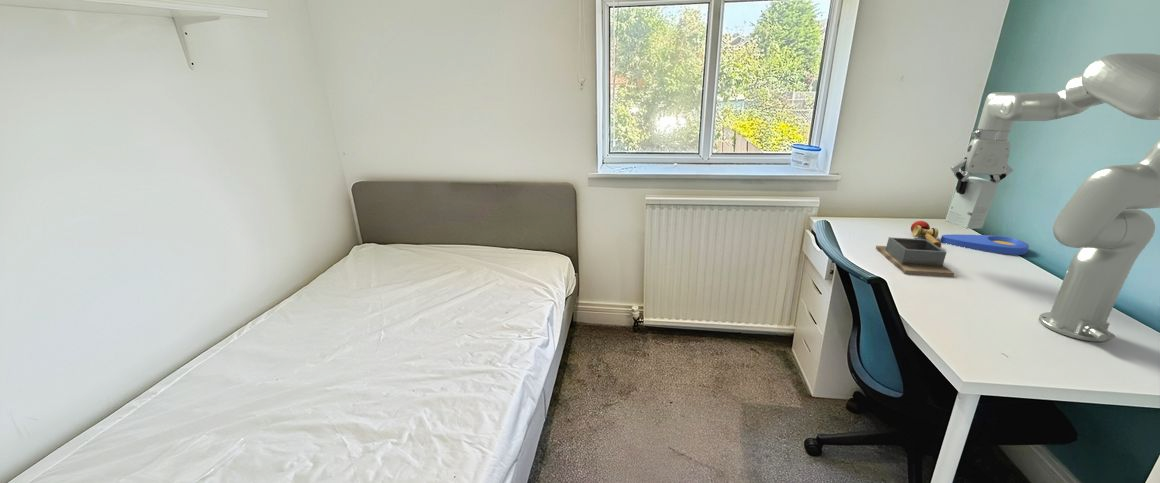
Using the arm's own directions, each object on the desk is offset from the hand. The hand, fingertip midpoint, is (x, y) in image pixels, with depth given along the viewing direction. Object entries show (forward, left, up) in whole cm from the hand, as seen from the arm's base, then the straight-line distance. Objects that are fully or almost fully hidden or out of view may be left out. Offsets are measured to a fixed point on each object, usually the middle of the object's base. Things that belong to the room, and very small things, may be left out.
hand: (973, 193), depth 145 cm
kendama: (+25, -4, -25) cm, 35 cm away
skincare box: (0, 0, -10) cm, 11 cm away
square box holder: (+2, +11, -25) cm, 27 cm away
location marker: (+22, -21, -25) cm, 40 cm away
